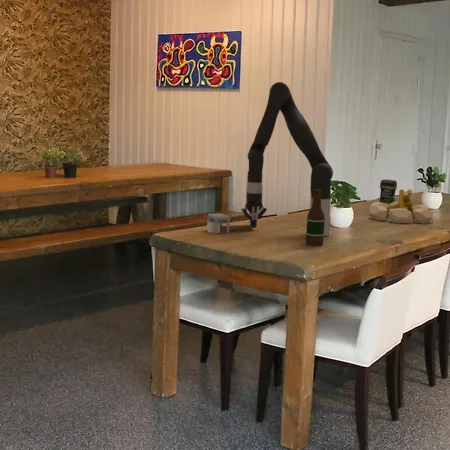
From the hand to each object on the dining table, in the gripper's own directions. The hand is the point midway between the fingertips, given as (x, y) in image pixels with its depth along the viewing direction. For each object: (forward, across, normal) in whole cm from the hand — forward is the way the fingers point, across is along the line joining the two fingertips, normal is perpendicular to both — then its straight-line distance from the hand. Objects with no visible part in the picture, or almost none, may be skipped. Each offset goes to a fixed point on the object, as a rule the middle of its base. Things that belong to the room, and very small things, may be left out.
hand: (253, 227), depth 325 cm
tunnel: (+1, -18, 0) cm, 18 cm away
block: (+1, -21, -1) cm, 21 cm away
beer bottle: (+2, +12, -37) cm, 39 cm away
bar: (+1, -10, -1) cm, 10 cm away
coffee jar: (+3, +106, +42) cm, 114 cm away
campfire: (+3, +96, +14) cm, 97 cm away
